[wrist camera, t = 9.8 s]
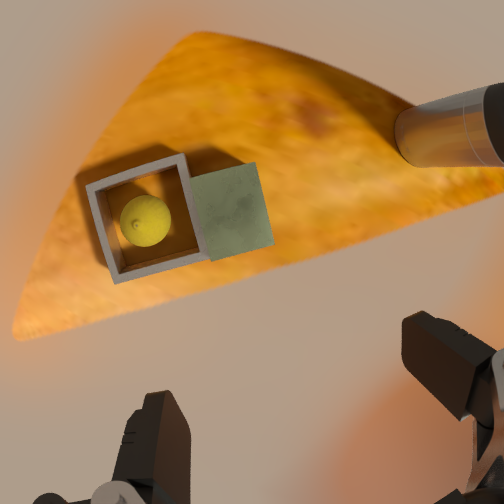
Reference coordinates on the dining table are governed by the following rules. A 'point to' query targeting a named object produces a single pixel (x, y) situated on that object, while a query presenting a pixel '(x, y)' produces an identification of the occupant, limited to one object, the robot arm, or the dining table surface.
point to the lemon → (145, 220)
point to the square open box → (191, 216)
